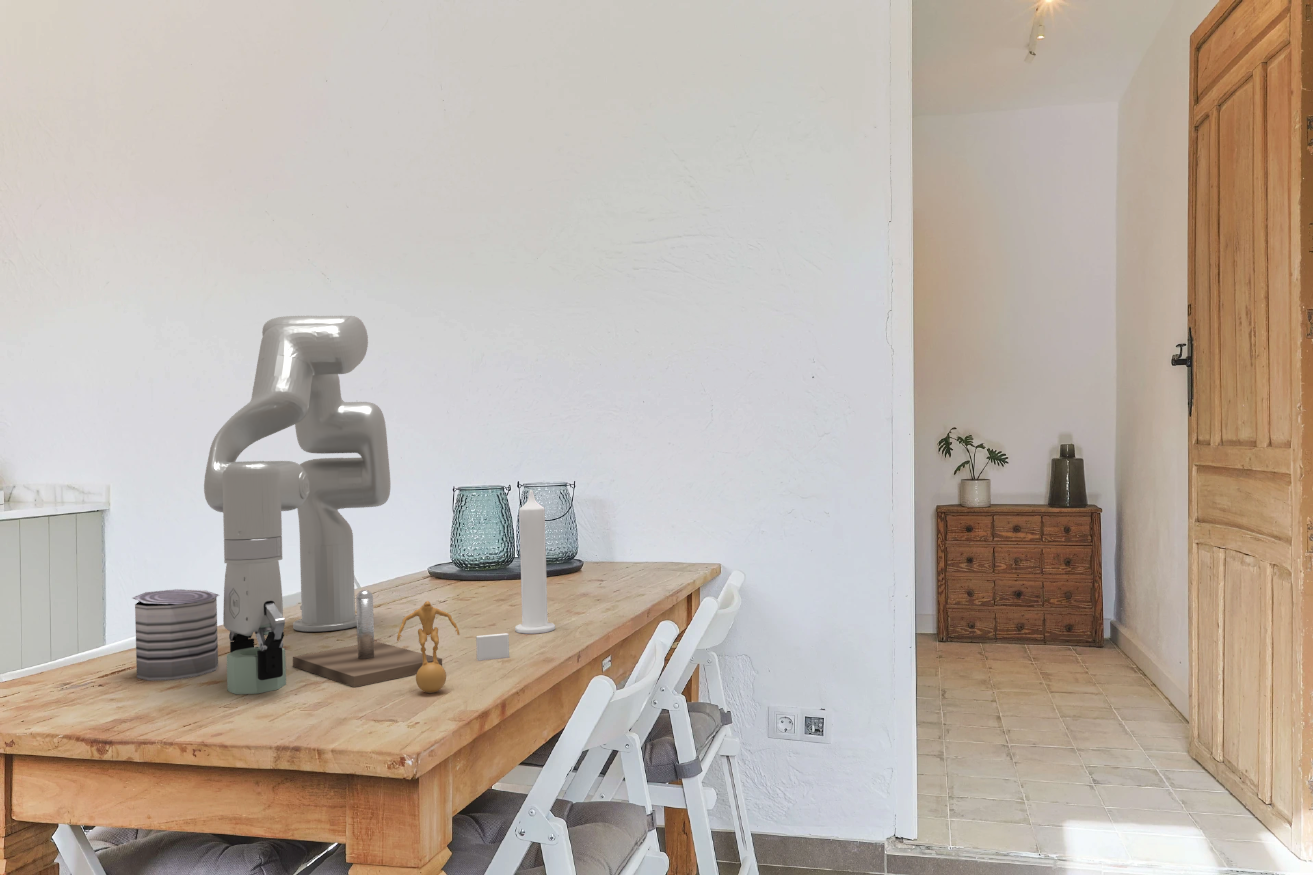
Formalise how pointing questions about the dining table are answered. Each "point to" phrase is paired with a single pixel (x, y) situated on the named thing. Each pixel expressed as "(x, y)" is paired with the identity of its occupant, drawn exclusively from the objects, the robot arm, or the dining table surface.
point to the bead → (250, 673)
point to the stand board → (362, 664)
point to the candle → (533, 569)
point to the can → (176, 634)
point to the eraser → (492, 646)
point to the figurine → (431, 673)
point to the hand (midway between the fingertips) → (256, 672)
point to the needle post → (365, 625)
